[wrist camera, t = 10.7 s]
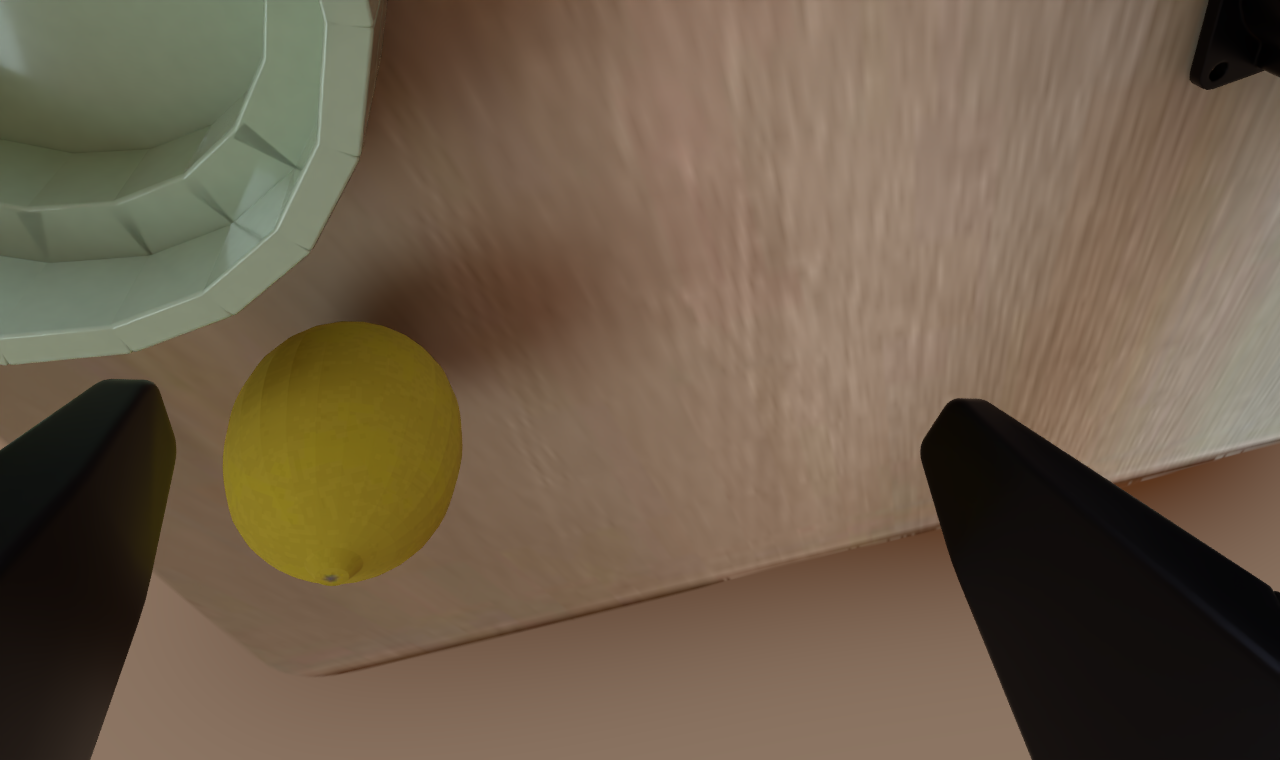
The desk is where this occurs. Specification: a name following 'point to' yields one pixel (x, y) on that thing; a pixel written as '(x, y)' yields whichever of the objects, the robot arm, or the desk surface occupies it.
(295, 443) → the lemon
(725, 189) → the desk surface
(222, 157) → the bowl
